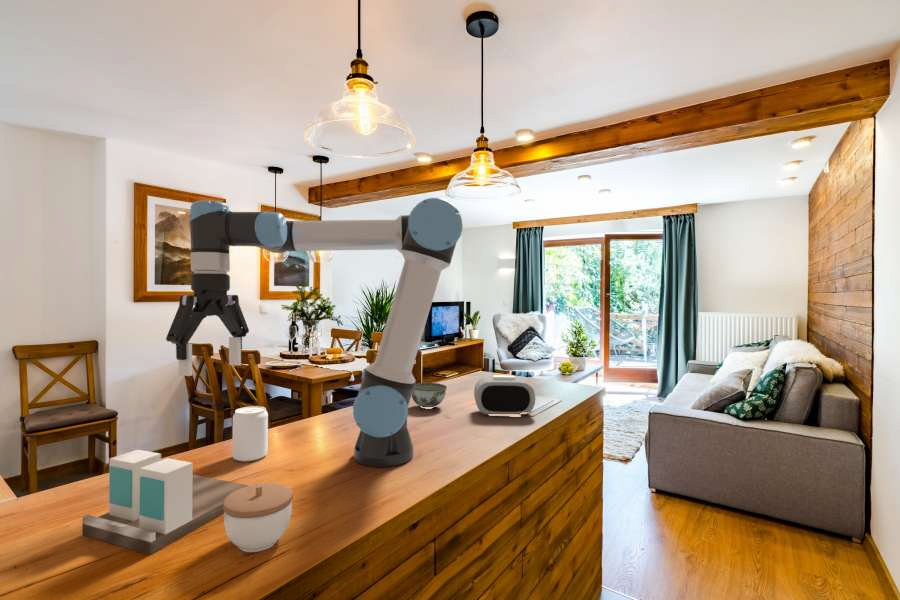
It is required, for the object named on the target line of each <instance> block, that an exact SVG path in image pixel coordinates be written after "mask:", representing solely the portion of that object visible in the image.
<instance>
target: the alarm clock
mask: <svg viewBox="0 0 900 600" xmlns="http://www.w3.org/2000/svg"><path fill="white" fill-rule="evenodd" d="M473 390H474V391H473V395H474V396H473V397H474V400H475V405H476V407H477V410H479V412H480V413H482V414H483V415H487V414H520V413H522V412H530V413H531V412H532V411H533V409H534V408H535V405H536V404H535V403H536V393H535V390H534V388H533V386H532V385H531V384H530V383H529V382H528V381H527V380H526V379H524V378H523V377H517V376H515V375H499V374H496V375H492V376H485V377H482V378H479V379H478V380H477V382H476V383H475V386H474V389H473Z"/></svg>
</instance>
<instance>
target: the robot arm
mask: <svg viewBox="0 0 900 600" xmlns="http://www.w3.org/2000/svg"><path fill="white" fill-rule="evenodd" d="M189 213H190V214H189V215H190V216H189V221H188V223H189V231H190V232H189V233H190V234H189V235H190V237H189V238H190V270H191V272H194V273H192V274H191V275H190V289H191V290H192V292H193V294H192V295H190V294H189V295H188V294H187V295H185V294H183V295H180V297H179V303H178V308H177V310H176V313H175V315H174V317H173V320H172V323H171V325H170V328H169V330H168V332H167V335H166V337H165V340H166V342H168V343H169V342H170V343H172V344H173V345H174V344H175V354H176V355H175V357H176V360H177V361H178V376H184V377H185V376H187V377H191V376H193V343H189V342H190V341H191V338H192V337H193V336H194V334H195V332H196V331H197V329H198V328H199V326H200V325H201V323H202V322H203V320H204V319H206V318H207V317H212V316H216V317H217V318H219V319H220V321H221V322H222V324H223V326H224V327H225V328H226V329H227V331H228V333H229V334H230V335H231V336H230V337H228V365H229V366H242V350H243V338H244V337H246V336H247V334H248V333H250V329H249V326H248V324H247V321H246V319H245V316H244V314H243V311H242V308H241V306H240V302H239V301H240V300H239V295H237V294H227V293H228V292H229V291H230V288H231V277H230V275H229V274H228V273H229V272H230V271H231V269H230V267H231V266H230V265H231V264H230V247H256V248H260V249H263V250H266V251H269V252H270V253H274V254H275V253H276V254H282V253H286V252H309V251H310V252H313V251H318V252H319V251H320V252H322V251H377V250H379V251H380V250H381V251H383V250H384V251H385V250H387V251H388V250H396V251H398V252H399V253H400V254H401V255H402V257H403V258H404V262H403V265H402V269H401V273H400V276H399V279H398V283H397V286H396V289H395V293H394V296H393V300H392V303H391V306H390V309H389V313H388V317H387V319H386V323H385V326H384V329H383V333H382V336H381V341H380V343H379V347H378V350H377V353H376V357H375V360H374V362H372V363H371V364H369V365H367V366H366V367H365V368H363V370H362V375H361V384H360V386H359V391H358V394H357V396H356V398H355V399H354V401H353V404H352V411H353V412H352V415H353V419H354V422H355V424H356V426H357V427H358V428H359V429H360V430H359V432H358V435H357V439H356V442H355V445H354V449H353V459H354V461H355V462H357V464H358V463H359V464H360V465H364V466H369V467H379V468H380V467H382V468H385V467H386V468H387V467H394V466H399V465H403V464H405V463H407V462H409V461H410V460H412V459H413V457H414V444H413V441H412V438H411V434H410V431H409V427H408V417H409V416H408V415H409V405H410V402H411V399H412V396H411V395H412V392H413V388H414V385H415V384H416V379H415V377H414V375H413V368H414V365H415V361H416V357H417V354H418V350H419V349H420V348H419V347H420V343H421V341H422V337H423V334H424V330H425V326H426V324H427V320H428V316H429V315H430V314H429V313H430V311H431V307H432V303H433V300H434V296H435V293H436V290H437V286H438V283H439V280H440V276H441V274H442V271H443V270H446V269H447V268H449V267H450V265H451V262H452V259H453V255H454V252H455V249H456V245H457V242H458V241H459V239H460V238H461V235H462V233H463V219H462V216H461V213H460V211H459V210H458V208H457V206H455V205H454V204H453V203H452V202H450V201H448V200H447V199H444V198H440V197H429V198H425V199H422V200H421V201H420V202H419V203H417V204H416V205H415V206H413V208H412V210H411V211H410V214H408V215H407V214H406V215H404V214H403V215H399V216H398V217H397V218H395V219H354V220H353V219H349V220H346V219H344V220H343V219H342V220H340V219H337V220H333V219H331V220H286V218H285V216H284V214H282V213H281V212H275V211H274V212H272V211H268V210H264V211H230V208H229V205H228V204H227V203H225V202H222V201H217V200H206V199H205V200H204V199H203V200H196V201H194V202H192V203H191V204H190V212H189Z"/></svg>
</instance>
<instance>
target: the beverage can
mask: <svg viewBox="0 0 900 600" xmlns="http://www.w3.org/2000/svg"><path fill="white" fill-rule="evenodd" d="M268 429H269V413H268V411H267V408H266V407H264V406H259V405H253V406H252V405H250V406H244V407H240V408H237V409H235V411H234V413H233V416H232V451H231V452H232V453H231V454H232V458H233V459H234V460H236V461H238V462H254V461H258V460H259V459H262V458H263V457H265V456H267V454H268V451H269V450H268V439H269V437H268V436H269V435H268V434H269V432H268V431H269V430H268Z"/></svg>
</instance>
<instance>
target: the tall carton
mask: <svg viewBox="0 0 900 600" xmlns="http://www.w3.org/2000/svg"><path fill="white" fill-rule="evenodd" d="M161 460H162V453H159V452H154V451H147V450H143V449H135V450H132V451H128V452H126V453H123V454H119V455H116V456H114V457H110V458H109V465H108V466H109V474H108V475H109V476H108V477H109V478H108V479H109V480H108V482H109V484H108V485H109V487H108V488H109V490H108V491H109V495H108V498H109V499H108V500H109V501H108V506H109V507H108V512H109V515H112V516H116V517H119V518H123V519H127V520H131V521H134V520H137V519H139V485H140V468H142V467H145V466H147V465H150V464H153V463H155V462H158V461H161Z"/></svg>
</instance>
